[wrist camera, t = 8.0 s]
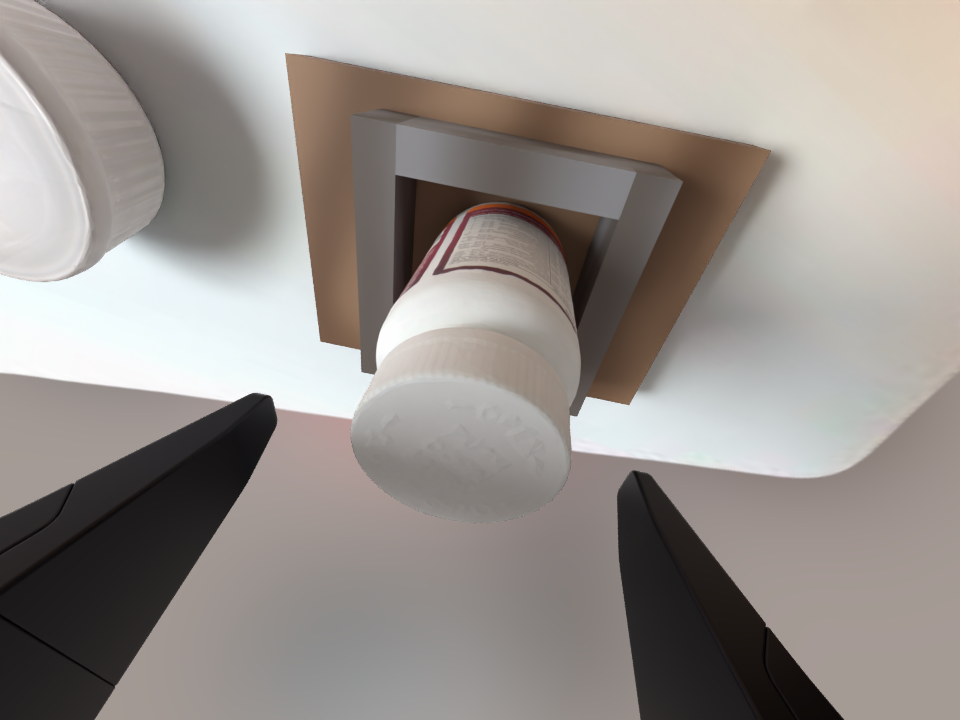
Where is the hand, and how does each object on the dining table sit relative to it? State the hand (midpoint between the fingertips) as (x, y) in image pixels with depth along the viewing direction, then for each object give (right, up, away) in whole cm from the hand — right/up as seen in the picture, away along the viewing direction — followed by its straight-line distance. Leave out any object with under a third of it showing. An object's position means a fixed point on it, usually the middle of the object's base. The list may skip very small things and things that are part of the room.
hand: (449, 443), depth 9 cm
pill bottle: (+2, +7, +8) cm, 11 cm away
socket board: (+2, +7, +10) cm, 12 cm away
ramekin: (-19, +13, +9) cm, 24 cm away
